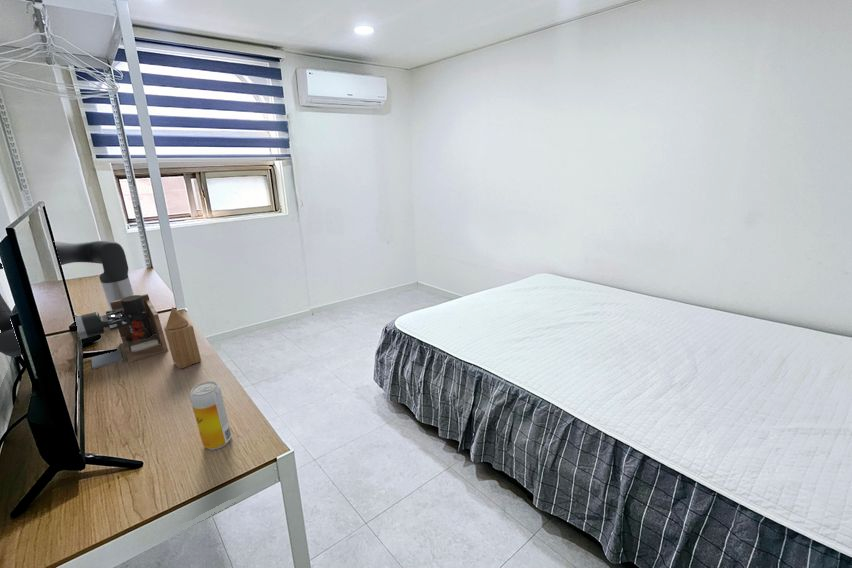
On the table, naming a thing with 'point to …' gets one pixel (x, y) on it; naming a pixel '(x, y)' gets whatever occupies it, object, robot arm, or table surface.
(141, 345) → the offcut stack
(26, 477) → the table surface
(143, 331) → the deodorant
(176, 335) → the decorative item
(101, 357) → the mat
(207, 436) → the beer can
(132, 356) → the box
